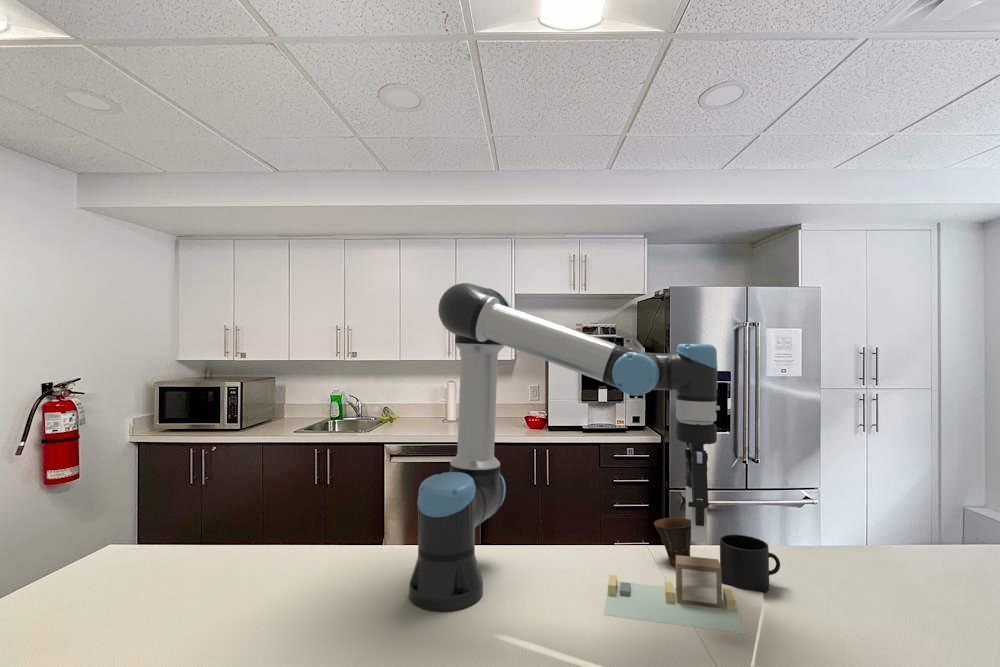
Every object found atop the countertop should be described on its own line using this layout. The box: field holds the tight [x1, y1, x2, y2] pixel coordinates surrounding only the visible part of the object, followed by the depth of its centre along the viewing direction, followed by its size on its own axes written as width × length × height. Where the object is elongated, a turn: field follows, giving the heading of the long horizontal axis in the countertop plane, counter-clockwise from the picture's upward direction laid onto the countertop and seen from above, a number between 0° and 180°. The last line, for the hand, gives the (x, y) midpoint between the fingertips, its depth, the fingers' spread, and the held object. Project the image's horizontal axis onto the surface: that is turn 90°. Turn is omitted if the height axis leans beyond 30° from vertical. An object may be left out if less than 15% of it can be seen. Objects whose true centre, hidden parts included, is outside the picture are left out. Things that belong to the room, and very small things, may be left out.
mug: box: [719, 534, 781, 594], centre depth 110 cm, size 9×12×9 cm
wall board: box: [603, 574, 746, 635], centre depth 100 cm, size 24×15×3 cm, turn 74°
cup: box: [653, 516, 692, 567], centre depth 122 cm, size 9×9×10 cm
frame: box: [675, 555, 723, 609], centre depth 101 cm, size 8×5×8 cm, turn 74°
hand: (695, 530), depth 102 cm, fingers open, 13 cm apart
